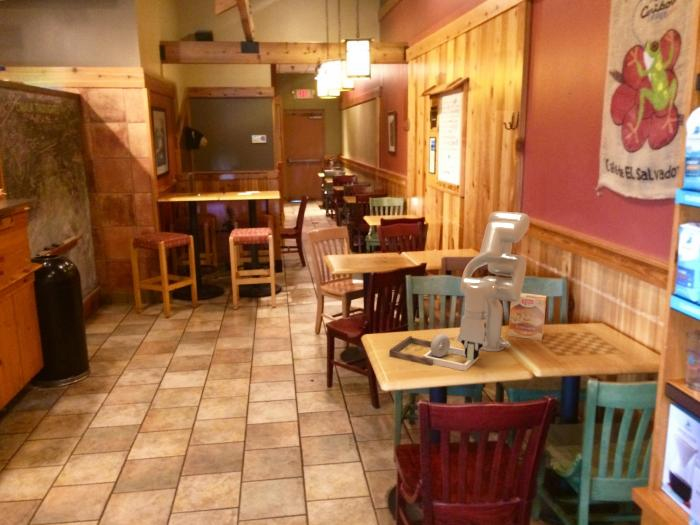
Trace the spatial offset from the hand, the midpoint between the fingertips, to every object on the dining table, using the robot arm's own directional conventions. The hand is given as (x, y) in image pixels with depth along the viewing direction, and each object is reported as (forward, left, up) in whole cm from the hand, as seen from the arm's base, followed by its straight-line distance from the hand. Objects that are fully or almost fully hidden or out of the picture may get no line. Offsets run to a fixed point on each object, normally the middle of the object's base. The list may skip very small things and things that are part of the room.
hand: (471, 357), depth 238 cm
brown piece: (+23, 0, -3) cm, 23 cm away
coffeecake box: (-10, -46, -3) cm, 47 cm away
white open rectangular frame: (+9, 0, -3) cm, 9 cm away
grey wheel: (+14, -1, -3) cm, 14 cm away
